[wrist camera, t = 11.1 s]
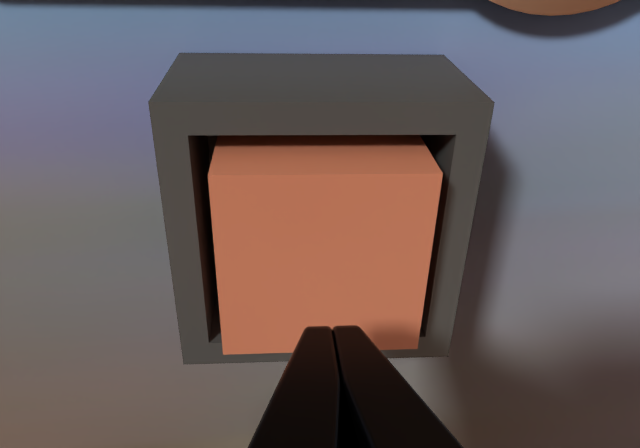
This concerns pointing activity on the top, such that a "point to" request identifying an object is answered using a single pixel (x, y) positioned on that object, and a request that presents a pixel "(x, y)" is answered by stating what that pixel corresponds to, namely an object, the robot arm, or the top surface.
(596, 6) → the picture board
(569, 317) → the top surface
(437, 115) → the button housing
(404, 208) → the button
